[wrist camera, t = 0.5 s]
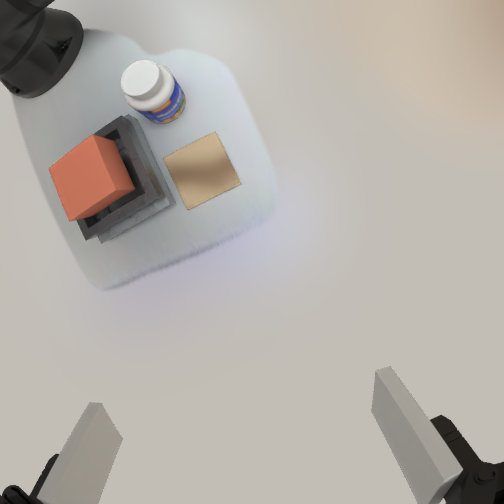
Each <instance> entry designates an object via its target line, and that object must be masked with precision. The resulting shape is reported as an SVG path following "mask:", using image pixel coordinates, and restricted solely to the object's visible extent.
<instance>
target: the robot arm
mask: <svg viewBox="0 0 504 504" xmlns="http://www.w3.org/2000/svg"><path fill="white" fill-rule="evenodd" d="M53 1H54V0H0V81H1V82H2V83H3V84H4V85H5V87H6V88H7V89H8V90H9V91H10V92H11V93H13V94H14V95H17V96H20V97H23V98H33V97H36V96H39V95H41V94H43V93H44V92H46V91H47V90H49V89H50V88H51V87H52V86H54V85H55V84H56V83H57V82H58V81H59V80H60V79H61V78H62V77H63V75H64V74H65V73H66V72H67V70H68V69H69V68H70V66H71V65H72V63H73V61H74V60H75V58H76V56H77V54H78V51H79V49H80V46H81V43H82V38H83V28H82V25H81V23H80V21H79V20H78V19H77V18H76V17H75V16H73V15H72V14H70V13H68V12H66V11H61V10H57V9H52V8H47V6H48V5H49V4H51V3H52V2H53ZM372 413H373V415H374V417H375V419H376V421H377V423H378V425H379V427H380V428H381V431H382V432H383V434H384V436H385V438H386V440H387V442H388V444H389V446H390V448H391V450H392V452H393V454H394V456H395V458H396V460H397V462H398V464H399V466H400V468H401V470H402V472H403V474H404V476H405V478H406V480H407V482H408V484H409V486H410V488H411V490H412V492H413V494H414V496H415V499H416V501H417V503H418V504H439V503H440V502H441V500H442V499H443V498H444V499H445V501H446V504H504V462H501V463H498V464H492V463H487V462H483V461H481V460H480V459H479V458H478V456H477V455H476V453H475V452H474V451H473V449H472V448H471V447H470V445H469V444H468V443H467V441H466V440H465V439H464V437H462V435H461V434H460V432H459V431H458V430H457V428H456V427H455V425H454V424H453V423H452V422H451V420H449V419H447V418H446V417H444V416H442V415H440V416H438V417H435V418H433V419H431V420H429V419H428V417H427V416H426V414H425V413H424V412H423V410H422V409H421V407H420V406H419V405H418V403H417V402H416V400H415V399H414V398H413V396H412V395H411V393H410V392H409V391H408V389H407V388H406V387H405V385H404V384H403V383H402V381H401V380H400V378H399V377H398V376H397V374H396V373H395V372H394V370H393V369H392V368H391V366H389V367H386V368H383V369H380V370H376V371H375V383H374V393H373V403H372ZM122 439H123V438H122V437H121V435H120V434H119V432H118V430H117V429H116V427H115V426H114V424H113V422H112V421H111V419H110V417H109V416H108V414H107V412H106V410H105V409H104V407H103V405H102V403H92V402H90V403H89V404H88V406H87V408H86V409H85V411H84V413H83V414H82V416H81V418H80V419H79V421H78V423H77V424H76V426H75V428H74V430H73V432H72V433H71V435H70V437H69V438H68V440H67V442H66V444H65V445H64V447H63V449H62V451H61V453H60V454H55V455H54V456H53V457H52V458H51V459H49V461H48V463H47V464H46V466H45V469H44V470H43V472H42V475H40V477H39V479H38V481H37V483H36V485H35V486H34V489H33V490H32V492H31V494H30V495H29V496H28V495H27V494H26V493H25V492H24V491H23V490H22V489H21V488H20V487H19V486H16V485H10V486H8V487H7V488H6V489H5V490H4V491H3V494H2V496H1V495H0V504H98V503H99V500H100V497H101V494H102V492H103V489H104V486H105V483H106V481H107V478H108V476H109V473H110V470H111V468H112V465H113V462H114V460H115V457H116V455H117V452H118V450H119V447H120V445H121V442H122Z"/></svg>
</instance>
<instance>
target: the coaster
mask: <svg viewBox="0 0 504 504" xmlns="http://www.w3.org/2000/svg"><path fill="white" fill-rule="evenodd" d="M163 160H164V162H165V164H166V166H167V168H168V170H169V172H170V175H171V177H172V179H173V181H174V183H175V185H176V187H177V189H178V191H179V193H180V195H181V197H182V199H183V201H184V204H185V206H186V208H187V210H189V209H191V208H193V207H195V206H197V205H199V204H201V203H203V202H205V201H207V200H209V199H211V198H213V197H215V196H217V195H219V194H221V193H223V192H225V191H227V190H229V189H231V188H234V187H236V186H238V185H240V184H241V182H240V180H239V178H238V176H237V174H236V172H235V170H234V168H233V166H232V164H231V162H230V160H229V158H228V156H227V154H226V152H225V150H224V148H223V145H222V143H221V141H220V139H219V137H218V135H217V133H216V131H215V132H213V133H211V134H209V135H207V136H205V137H203V138H201V139H199V140H197V141H195V142H193V143H191V144H189V145H187V146H186V147H184V148H182V149H180V150H178V151H176V152H174V153H172V154H171V155H169V156H167V157H165V158H163Z"/></svg>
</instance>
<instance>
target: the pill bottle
mask: <svg viewBox="0 0 504 504" xmlns="http://www.w3.org/2000/svg"><path fill="white" fill-rule="evenodd" d="M121 88H122V90H123V91H124V95H125V98H126V101H127V102H128V104H129V105H130V106H131V107H133V108H134V109H135V110H137V111H138V112H140V113H141V114H142V115H144V116H145V117H147V118H148V119H149V120H151V121H153V122H155V123H167V122H170V121H172V120H174V119H176V118H177V117H178V116H179V115H180V114H181V112H182V111H183V109H184V106H185V95H184V93H183V91H182V89H181V88H180V86H179V84H178V83H177V81H176V80H175V78H174V77H173V75H172V74H171V72H170V71H169V70H168V69H167V68H166V67H164V66H162V65H159V64H155V63H154V62H153V61H150V60H139V61H136V62H134V63H132V64H131V65H129V66H128V67H127V68H126V70H125V71H124V72H123V74H122V77H121Z"/></svg>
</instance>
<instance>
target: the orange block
mask: <svg viewBox="0 0 504 504" xmlns="http://www.w3.org/2000/svg"><path fill="white" fill-rule="evenodd" d="M49 171H50V174H51V176H52V179H53V182H54V185H55V187H56V190H57V192H58V195H59V197H60V200H61V202H62V205H63V207H64V210H65V212H66V214H67V217H68V219H69V221H74V220H78V219H82V218H86V217H90V216H94V215H95V214H97V213H98V212H100V211H101V210H103V209H104V208H106V207H107V206H109V205H111V204H112V203H114V202H115V201H117V200H119V199H120V198H122V197H123V196H125V195H127V194H128V193H130V192H132V191H133V190H135V187H134V185H133V183H132V180H131V178H130V176H129V174H128V172H127V169H126V167H125V165H124V162H123V160H122V158H121V156H120V153H119V151H118V149H117V146H116V144H115V141H112V140H109V139H106V138H103V137H100V136H97V135H91V136H90V137H88V138H87V139H86V140H84V141H83V142H82V143H80V144H79V145H78V146H76V147H75V148H74V149H72V150H71V151H70V152H68V153H67V154H66V155H65V156H63V157H62V158H61V159H60V160H58V161H57V162H56V163H55V164H54V165H52V166H51V167H50V168H49Z"/></svg>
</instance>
